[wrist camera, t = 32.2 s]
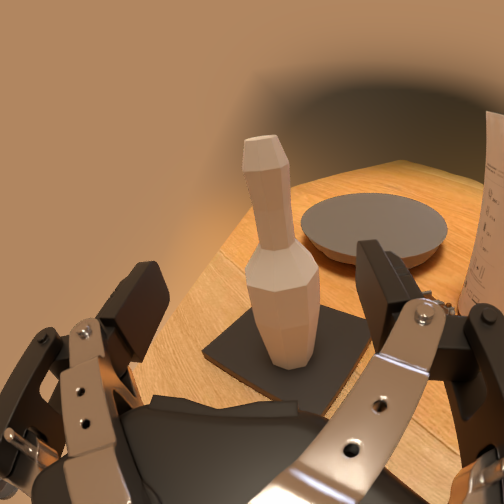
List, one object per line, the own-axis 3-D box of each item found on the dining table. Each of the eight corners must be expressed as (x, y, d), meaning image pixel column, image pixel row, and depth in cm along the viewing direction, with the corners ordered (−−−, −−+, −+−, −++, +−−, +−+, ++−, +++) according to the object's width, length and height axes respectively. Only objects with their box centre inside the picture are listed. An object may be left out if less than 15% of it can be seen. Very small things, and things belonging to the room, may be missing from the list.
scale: (204, 357, 32) (197, 341, 30) (275, 293, 40) (272, 277, 39) (317, 424, 22) (318, 411, 20) (377, 328, 30) (380, 310, 29)
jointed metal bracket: (444, 344, 24) (448, 307, 24) (418, 322, 32) (419, 290, 32) (456, 341, 24) (460, 305, 23) (429, 319, 32) (430, 288, 31)
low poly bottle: (269, 331, 32) (231, 138, 21) (322, 332, 30) (308, 128, 20) (257, 374, 27) (200, 152, 16) (318, 377, 25) (303, 139, 14)
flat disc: (273, 244, 54) (269, 223, 52) (359, 202, 65) (359, 185, 63) (398, 310, 32) (403, 283, 30) (461, 235, 43) (464, 215, 41)
